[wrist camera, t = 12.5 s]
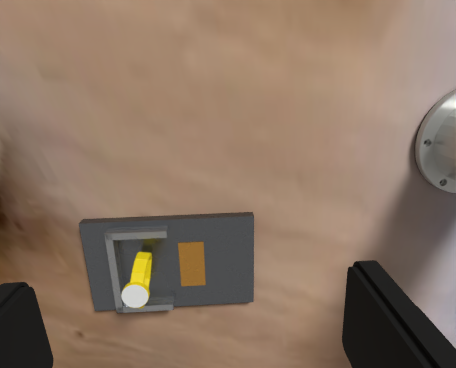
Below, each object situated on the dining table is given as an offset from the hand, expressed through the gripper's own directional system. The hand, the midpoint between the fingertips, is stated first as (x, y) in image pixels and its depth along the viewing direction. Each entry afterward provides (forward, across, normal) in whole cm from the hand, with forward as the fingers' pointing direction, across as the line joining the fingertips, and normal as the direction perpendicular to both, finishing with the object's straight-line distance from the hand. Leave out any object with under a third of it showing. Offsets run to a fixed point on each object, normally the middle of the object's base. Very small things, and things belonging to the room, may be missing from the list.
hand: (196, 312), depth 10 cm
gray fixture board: (+27, +6, +14) cm, 31 cm away
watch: (+26, +9, +14) cm, 31 cm away
